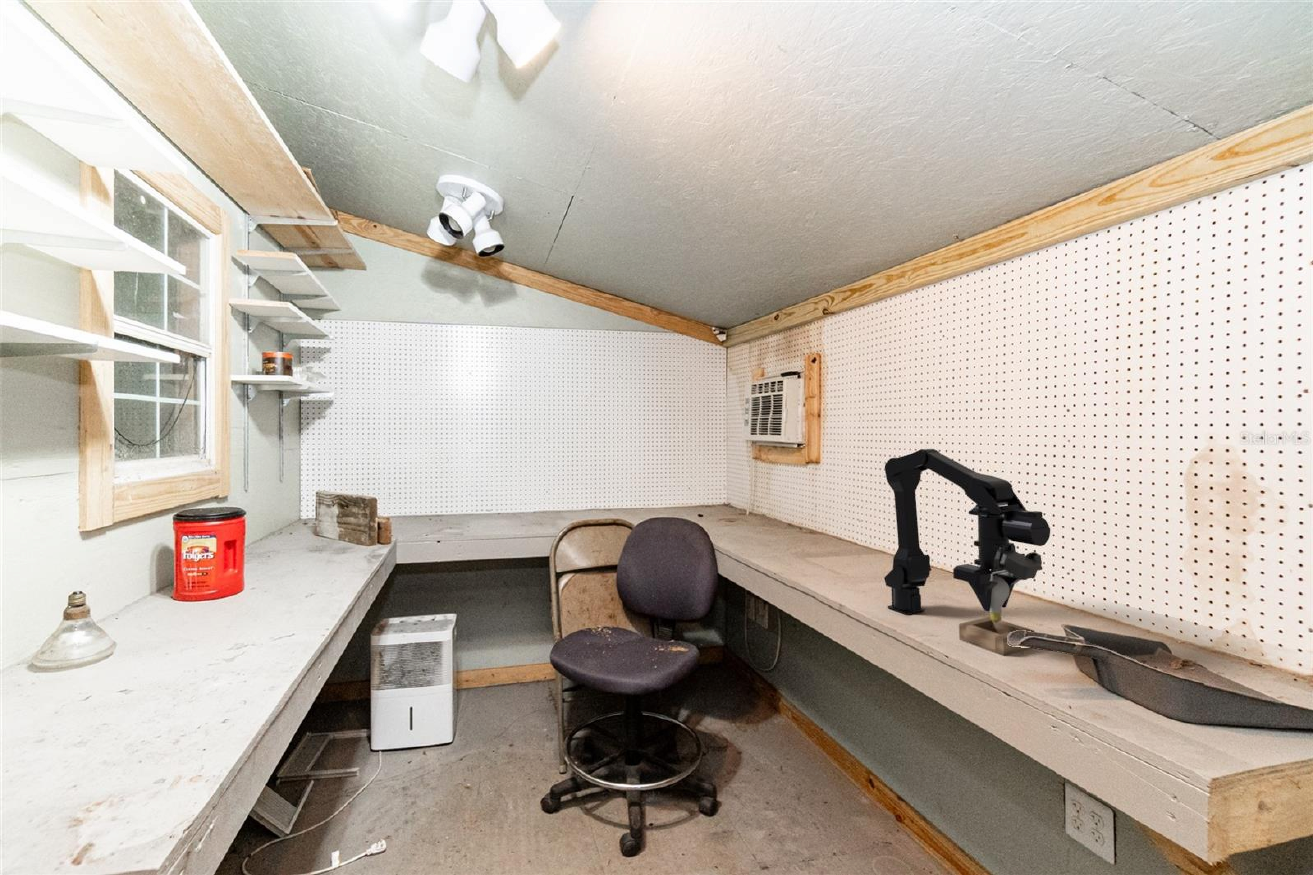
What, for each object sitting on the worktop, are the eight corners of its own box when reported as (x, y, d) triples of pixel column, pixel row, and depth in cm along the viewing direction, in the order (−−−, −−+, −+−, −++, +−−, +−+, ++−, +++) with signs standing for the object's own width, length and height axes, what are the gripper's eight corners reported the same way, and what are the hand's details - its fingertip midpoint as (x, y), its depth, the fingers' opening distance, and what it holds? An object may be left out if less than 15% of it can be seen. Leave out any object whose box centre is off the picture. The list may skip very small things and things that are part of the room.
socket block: (959, 639, 121) (959, 623, 121) (989, 631, 125) (989, 616, 125) (1003, 655, 112) (1003, 638, 112) (1034, 646, 116) (1034, 630, 116)
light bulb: (978, 622, 119) (976, 577, 119) (985, 615, 123) (983, 571, 122) (1007, 628, 115) (1005, 581, 115) (1013, 621, 119) (1011, 575, 119)
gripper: (1001, 549, 107) (1002, 628, 108) (1060, 539, 115) (1061, 613, 115) (950, 539, 118) (952, 611, 118) (1007, 531, 125) (1009, 599, 125)
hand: (994, 609), depth 119 cm, fingers closed on light bulb, 5 cm apart
